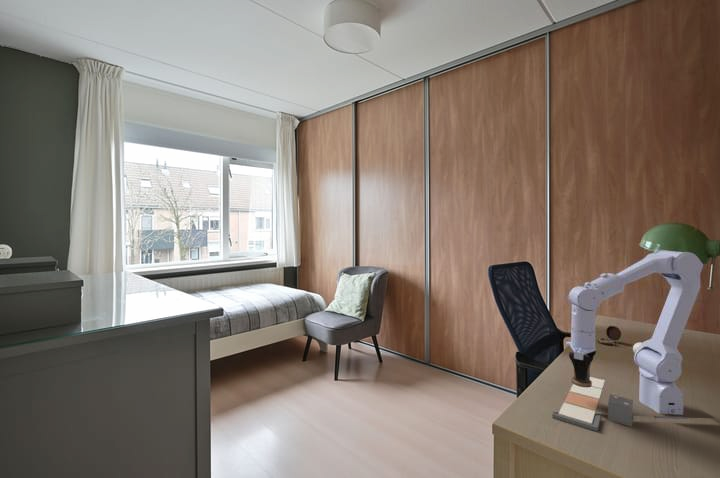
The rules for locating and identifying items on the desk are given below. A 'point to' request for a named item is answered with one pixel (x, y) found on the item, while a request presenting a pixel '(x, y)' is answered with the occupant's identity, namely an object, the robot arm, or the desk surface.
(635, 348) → the seamed sphere
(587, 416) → the board
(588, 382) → the pawn
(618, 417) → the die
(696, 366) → the desk surface
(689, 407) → the desk surface
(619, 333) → the compass
